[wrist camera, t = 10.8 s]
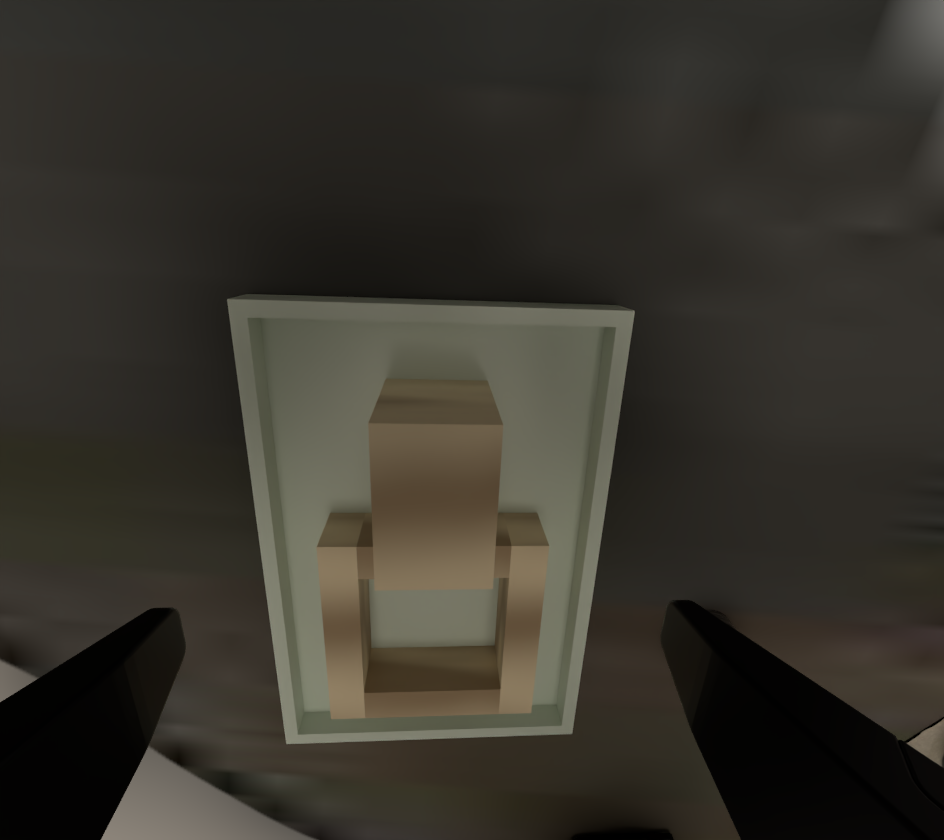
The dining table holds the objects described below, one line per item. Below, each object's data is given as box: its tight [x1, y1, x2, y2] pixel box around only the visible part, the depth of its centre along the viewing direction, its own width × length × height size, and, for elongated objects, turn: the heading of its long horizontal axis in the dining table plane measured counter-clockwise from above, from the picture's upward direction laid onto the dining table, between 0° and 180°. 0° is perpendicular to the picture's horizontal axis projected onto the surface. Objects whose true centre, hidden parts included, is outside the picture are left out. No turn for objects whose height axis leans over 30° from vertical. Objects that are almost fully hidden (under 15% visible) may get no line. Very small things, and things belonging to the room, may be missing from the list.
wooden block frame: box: [316, 379, 549, 719], centre depth 19 cm, size 15×9×5 cm, turn 178°
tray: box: [227, 294, 635, 744], centre depth 21 cm, size 21×14×2 cm
